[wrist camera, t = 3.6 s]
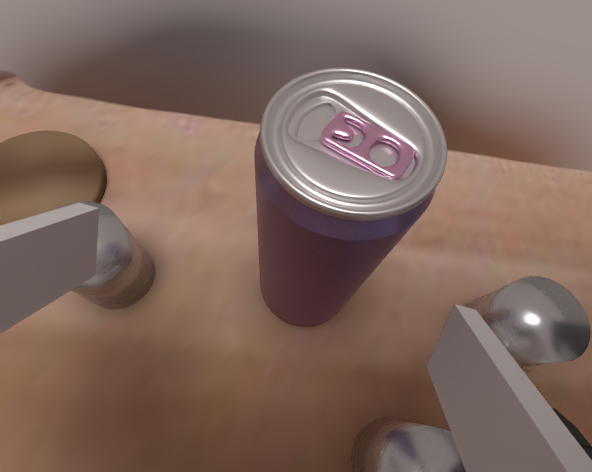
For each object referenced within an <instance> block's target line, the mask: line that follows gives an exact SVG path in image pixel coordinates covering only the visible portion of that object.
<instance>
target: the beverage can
mask: <svg viewBox="0 0 592 472" xmlns="http://www.w3.org/2000/svg"><path fill="white" fill-rule="evenodd" d="M254 158H255V180H256V202H257V224H258V245H259V267H260V286H261V292H262V295H263V298H264V300H265V302H266V304H267V305H268V307H269V308H270V309H271V310H272V311H273V312H274V313H275V314H276V315H277V316H278V317H280V318H281V319H283V320H285V321H287V322H289V323H292V324H295V325H301V326H310V325H316V324H320V323H323V322H325V321H327V320H329V319H330V318H332V317H333V316H334V315H335V314H336V313H337V312H338V311H339V310H340V309H341V308H342V307H343V305H344V304H345V303H346V302H347V301H348V300H349V299H350V297H351V296H352V295H353V294H354V293H355V292H356V290H357V289H358V288H359V287H360V286H361V285H362V283H363V282H364V281H365V280H366V279H367V278H368V277H369V275H370V274H371V273H372V272H373V271H374V270H375V268H376V267H377V266H378V265H379V264H380V263H381V262H382V260H383V259H384V258H385V257H386V256H387V255H388V253H389V252H390V251H391V250H392V249H393V248H394V246H395V245H396V244H397V243H398V242H399V241H400V240H401V238H402V237H403V236H404V235H405V234H406V233H407V231H408V230H409V229H410V228H411V227H412V226H413V224H414V223H415V222H416V221H417V220H418V219H419V218H420V216H421V215H422V214H423V213H424V212H425V210H426V209H427V207H428V206H429V204H430V202H431V200H432V198H433V195H434V192H435V188H436V187H437V185H438V183H439V182H440V180H441V178H442V176H443V173H444V170H445V166H446V161H447V145H446V139H445V135H444V132H443V129H442V127H441V125H440V123H439V121H438V119H437V118H436V116H435V114H434V113H433V112H432V110H431V109H430V108H429V107H428V105H427V104H426V103H425V102H424V101H423V100H422V99H421V98H420V97H418V96H417V95H416V94H415V93H413V92H412V91H411V90H409V89H408V88H407V87H405V86H403V85H402V84H400V83H398V82H396V81H394V80H392V79H390V78H388V77H385V76H383V75H380V74H377V73H373V72H370V71H365V70H360V69H352V68H329V69H322V70H317V71H313V72H310V73H306V74H304V75H301V76H299V77H297V78H295V79H294V80H291V81H290V82H289V83H287V84H285V85H284V86H283V87H282V88H281V89H280V90H279V91H277V93H276V94H275V95H274V96H273V97H272V98H271V100H270V101H269V103H268V105H267V107H266V109H265V111H264V114H263V116H262V121H261V126H260V132H259V135H258V138H257V141H256V145H255V155H254Z"/></svg>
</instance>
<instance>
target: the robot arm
mask: <svg viewBox="0 0 592 472" xmlns="http://www.w3.org/2000/svg"><path fill="white" fill-rule="evenodd" d="M98 223H99V208H97V207H94V206H90V205H86V204H83V203H76V204H73V205H69V206H66V207H63V208H59V209H56V210H52V211H49V212H45V213H42V214H39V215H35V216H32V217H28V218H25V219H21V220H18V221H15V222H11V223H8V224H4V225H1V226H0V334H1V333H2V332H4V331H5V330H7V329H9V328H10V327H12V326H14V325H15V324H17V323H18V322H20V321H22V320H23V319H25V318H27V317H28V316H30V315H32V314H33V313H35V312H36V311H38V310H40V309H41V308H43V307H45V306H46V305H48V304H49V303H51V302H53V301H54V300H56V299H58V298H59V297H61V296H63V295H64V294H66V293H67V292H69V291H71V290H72V289H74V288H76V287H77V286H79V285H80V284H82V283H84V282H85V281H87V280H89V279H90V278H92V277H93V276H95V275H96V261H97V242H98ZM426 367H427V370H428V372H429V375H430V378H431V380H432V383H433V386H434V388H435V391H436V393H437V396H438V399H439V401H440V404H441V407H442V409H443V412H444V415H445V417H446V420H447V423H448V425H449V428H450V431H451V433H452V436H453V438H454V441H455V444H456V446H457V449H458V452H459V454H460V457H461V460H462V462H463V465H464V468H465V470H466V472H592V446H591V445H590V444H589V443H588V441H587V440H586V439H585V438H584V436H583V435H582V434H581V433H580V431H579V430H578V429H577V428H576V427H575V426H574V425H573V424H572V423H571V422H569V421H568V420H567V419H566V418H565V417H564V416H563V415H562V414H560V413H559V412H558V411H557V410H556V409H554V408H551V407H550V405H549V404H548V403H547V401H546V400H545V399H544V398H543V396H542V395H541V394H540V392H539V391H538V390H537V388H536V387H535V386H534V385H533V383H532V382H531V381H530V379H529V378H528V377H527V375H526V374H525V373H524V372H523V370H522V369H521V368H520V366H519V365H518V364H517V362H516V361H515V360H514V359H513V357H512V356H511V355H510V353H509V352H508V351H507V349H506V348H505V347H504V346H503V344H502V343H501V342H500V340H499V339H498V338H497V336H496V335H495V334H494V333H493V331H492V330H491V329H490V327H489V326H488V325H487V323H486V322H485V321H484V320H483V318H482V317H481V316H480V314H479V313H478V312H477V310H475V309H471V308H467V307H464V306H460V305H456V304H454V307H453V309H452V311H451V313H450V315H449V318H448V320H447V322H446V324H445V326H444V329H443V331H442V333H441V335H440V338H439V340H438V342H437V344H436V346H435V349H434V351H433V353H432V355H431V357H430V360H429V362H428V364H427V366H426Z"/></svg>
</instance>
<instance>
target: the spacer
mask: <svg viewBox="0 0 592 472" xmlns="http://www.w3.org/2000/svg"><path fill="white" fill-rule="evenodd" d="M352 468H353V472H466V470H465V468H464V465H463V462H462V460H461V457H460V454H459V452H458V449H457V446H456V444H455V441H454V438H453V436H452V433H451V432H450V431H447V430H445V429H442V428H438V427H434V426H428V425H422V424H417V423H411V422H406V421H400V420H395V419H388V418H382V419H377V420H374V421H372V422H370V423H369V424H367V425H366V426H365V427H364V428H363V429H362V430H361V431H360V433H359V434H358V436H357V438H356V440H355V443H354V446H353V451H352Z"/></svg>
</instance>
